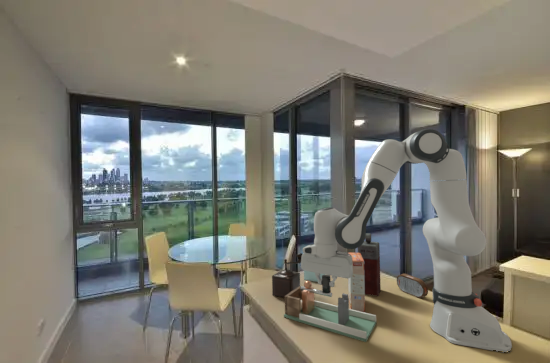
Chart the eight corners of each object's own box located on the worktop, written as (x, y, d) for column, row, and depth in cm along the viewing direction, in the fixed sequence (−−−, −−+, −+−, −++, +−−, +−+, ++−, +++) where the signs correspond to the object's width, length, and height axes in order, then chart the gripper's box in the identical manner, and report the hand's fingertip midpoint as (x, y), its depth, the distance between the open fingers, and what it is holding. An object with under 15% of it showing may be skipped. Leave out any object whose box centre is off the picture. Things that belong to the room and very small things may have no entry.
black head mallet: (334, 313, 105) (333, 274, 105) (328, 320, 100) (327, 279, 100) (305, 306, 112) (304, 269, 113) (298, 312, 107) (297, 273, 108)
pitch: (376, 323, 100) (375, 295, 100) (366, 342, 89) (365, 310, 89) (300, 303, 118) (300, 280, 118) (283, 317, 106) (283, 290, 107)
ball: (296, 301, 113) (302, 309, 112) (292, 304, 110) (297, 313, 109) (302, 296, 112) (308, 305, 110) (298, 299, 109) (304, 308, 107)
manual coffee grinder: (292, 300, 122) (291, 260, 122) (271, 295, 128) (271, 257, 128) (306, 288, 136) (305, 252, 136) (287, 284, 141) (286, 250, 141)
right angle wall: (325, 284, 142) (324, 269, 142) (304, 280, 148) (303, 266, 148) (331, 276, 153) (331, 263, 153) (311, 273, 158) (311, 261, 158)
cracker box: (366, 312, 109) (364, 260, 109) (350, 311, 110) (349, 260, 110) (362, 298, 123) (360, 252, 123) (348, 297, 124) (347, 251, 124)
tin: (428, 299, 120) (428, 280, 120) (424, 301, 118) (423, 282, 118) (400, 288, 133) (399, 271, 133) (395, 289, 132) (395, 272, 132)
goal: (313, 305, 114) (313, 289, 114) (299, 318, 103) (299, 299, 104) (299, 302, 117) (299, 286, 118) (284, 313, 107) (284, 296, 107)
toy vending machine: (357, 285, 137) (355, 231, 137) (380, 289, 132) (379, 232, 132) (353, 292, 129) (352, 234, 129) (378, 296, 124) (376, 235, 124)
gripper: (354, 251, 101) (355, 288, 101) (306, 244, 112) (306, 278, 112) (349, 254, 96) (350, 293, 95) (298, 248, 107) (299, 282, 107)
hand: (326, 285), depth 104 cm, fingers closed on black head mallet, 3 cm apart
